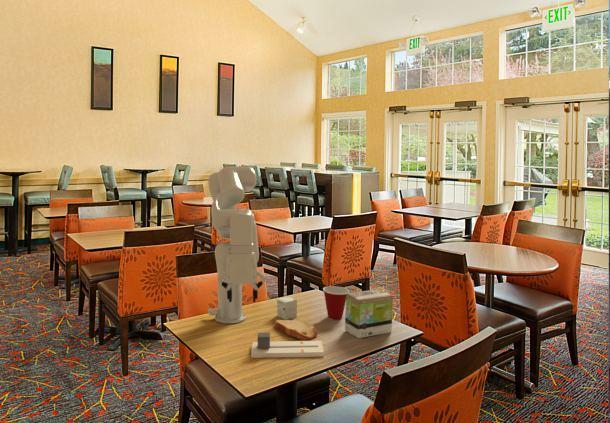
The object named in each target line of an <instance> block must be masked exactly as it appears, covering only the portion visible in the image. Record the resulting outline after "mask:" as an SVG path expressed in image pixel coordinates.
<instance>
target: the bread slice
mask: <svg viewBox="0 0 610 423" xmlns="http://www.w3.org/2000/svg"><path fill="white" fill-rule="evenodd" d="M273 326H274V328H275V329H277V330H278V331H280V332H281V333H283V334H285V335H286V336H288V337H291V338H294V339H297V340H298V341H314V340H315V339H317V336H318V330H317V329H316V327H315V326H314V325H313V324H311V323H308V322H305V321H299V320H294V319H293V320H292V319H291V320H290V319H286V320H284V319H276V320H275V322H274V323H273Z"/></svg>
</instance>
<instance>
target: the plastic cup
mask: <svg viewBox="0 0 610 423" xmlns="http://www.w3.org/2000/svg"><path fill="white" fill-rule="evenodd" d="M322 291H323V294H324V300H325V306H326V311H327V312H326V313H327V318H328V319H330V320H341V319H342V318H343V316H344V311H345V308H346V294H347V293H350V290H349V289H347V288H345V287H342V286H335V285H331V286H330V285H329V286H324V287H323V288H322Z"/></svg>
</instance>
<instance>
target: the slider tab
mask: <svg viewBox="0 0 610 423" xmlns="http://www.w3.org/2000/svg"><path fill="white" fill-rule="evenodd" d="M257 342H258V348H270V342H271V333H270V332H258V333H257Z"/></svg>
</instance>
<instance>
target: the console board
mask: <svg viewBox="0 0 610 423" xmlns="http://www.w3.org/2000/svg"><path fill="white" fill-rule="evenodd" d="M250 352H251V353H250V357H251V358H253V359H254V358H299V357H300V358H305V357H306V358H307V357H308V358H309V357H311V358H313V357H316V358H317V357H324V356H325V354H324V353H325V351H324V347H323V342H322V340H310V341H308V340H294V341H292V340H288V341H286V340H284V341H283V340H282V341H278V340H277V341H270V348H258V341H253V342H252V346H251V350H250Z"/></svg>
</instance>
